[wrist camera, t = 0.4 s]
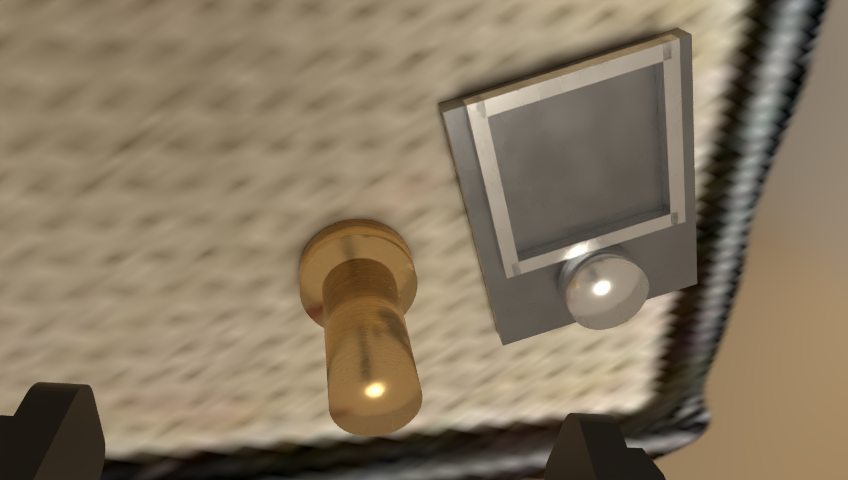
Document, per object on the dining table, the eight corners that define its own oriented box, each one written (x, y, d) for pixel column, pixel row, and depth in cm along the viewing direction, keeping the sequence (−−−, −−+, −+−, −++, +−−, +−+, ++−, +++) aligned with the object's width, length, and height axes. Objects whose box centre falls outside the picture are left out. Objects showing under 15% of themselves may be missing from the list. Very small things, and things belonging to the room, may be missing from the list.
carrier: (436, 98, 30) (450, 122, 27) (678, 21, 30) (715, 38, 27) (497, 332, 38) (512, 368, 36) (686, 272, 38) (715, 304, 36)
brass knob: (282, 240, 32) (278, 374, 24) (394, 204, 33) (428, 326, 24) (321, 325, 36) (330, 470, 27) (423, 293, 36) (462, 428, 27)
